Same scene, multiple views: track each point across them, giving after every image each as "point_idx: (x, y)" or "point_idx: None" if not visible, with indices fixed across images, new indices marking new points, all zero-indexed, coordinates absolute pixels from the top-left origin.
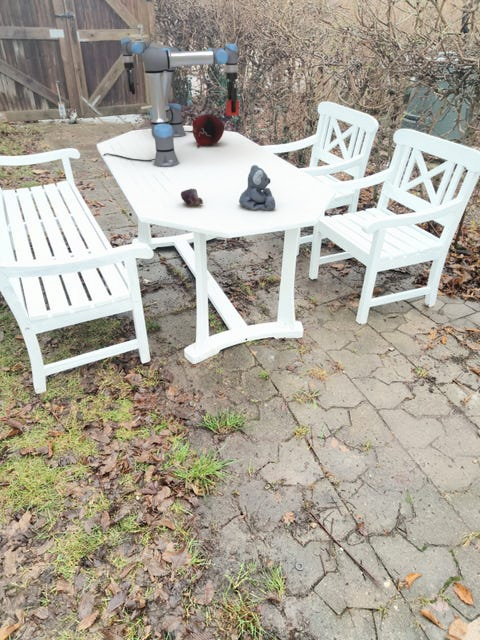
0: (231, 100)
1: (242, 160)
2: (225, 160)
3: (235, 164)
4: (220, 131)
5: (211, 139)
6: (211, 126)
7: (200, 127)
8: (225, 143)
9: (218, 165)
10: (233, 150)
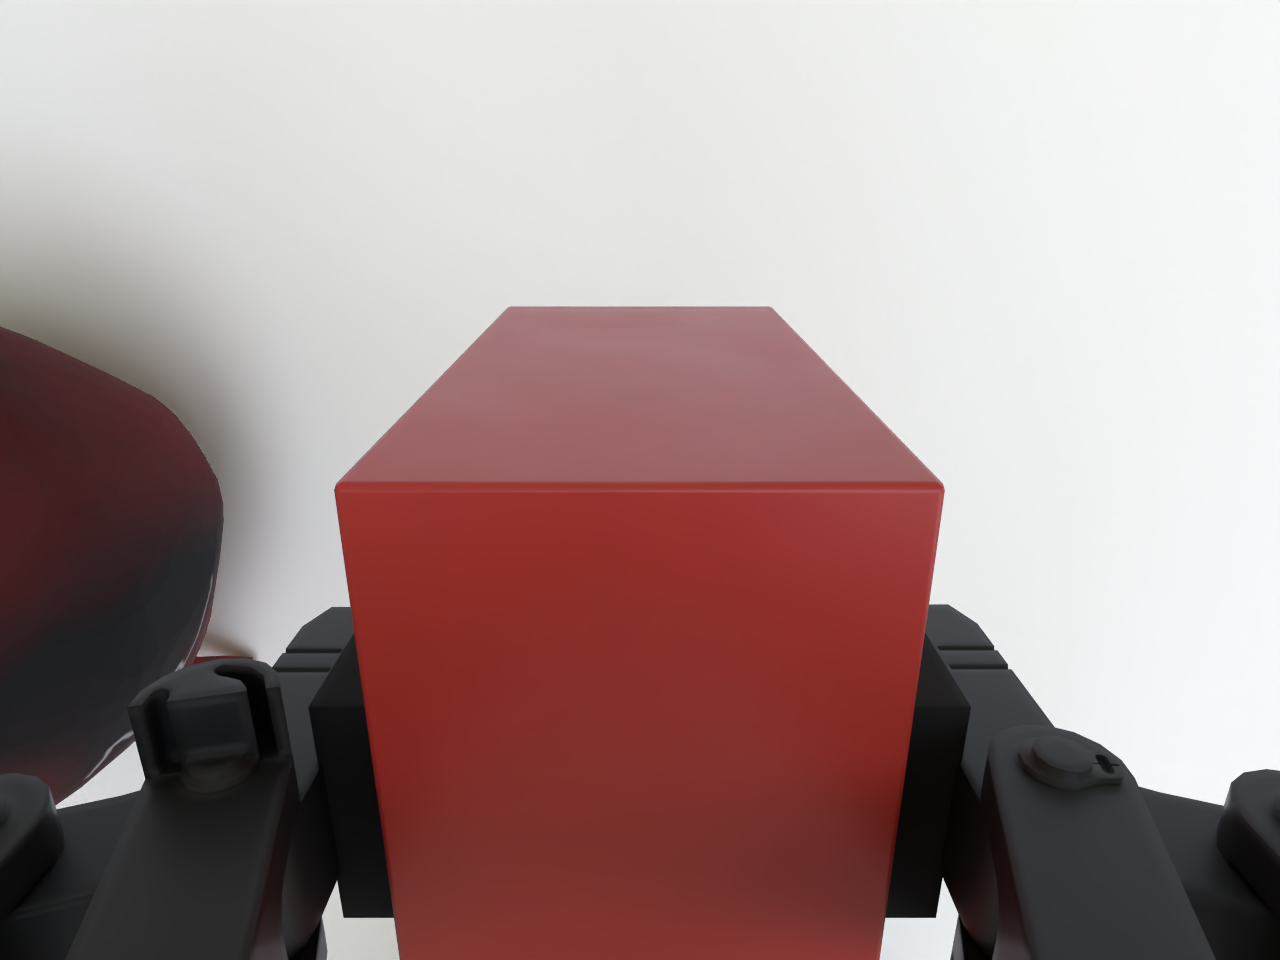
0: (788, 933)
1: (1066, 304)
2: (954, 509)
3: (1185, 449)
4: (125, 436)
5: (220, 548)
6: (109, 648)
7: (67, 792)
8: (31, 236)
9: (1109, 637)
10: (500, 252)
